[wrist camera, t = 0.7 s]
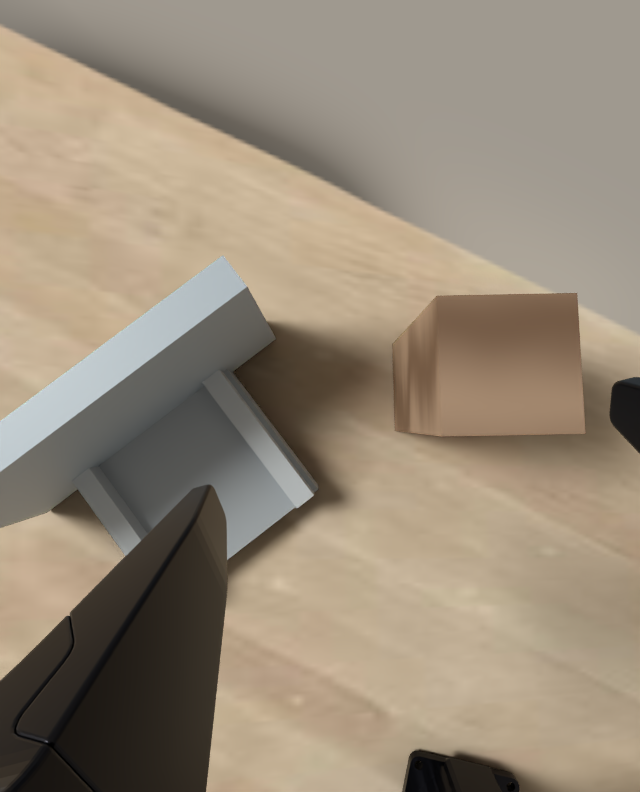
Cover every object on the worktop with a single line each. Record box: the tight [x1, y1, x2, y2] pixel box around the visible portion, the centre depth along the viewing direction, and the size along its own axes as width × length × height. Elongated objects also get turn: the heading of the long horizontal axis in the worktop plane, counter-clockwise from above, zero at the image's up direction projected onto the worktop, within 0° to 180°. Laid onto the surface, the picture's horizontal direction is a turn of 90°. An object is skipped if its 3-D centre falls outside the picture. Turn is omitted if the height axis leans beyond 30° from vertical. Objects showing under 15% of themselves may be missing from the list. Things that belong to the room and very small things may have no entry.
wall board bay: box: [0, 256, 318, 560], centre depth 20 cm, size 11×18×10 cm, turn 128°
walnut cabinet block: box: [392, 293, 586, 436], centre depth 21 cm, size 6×6×10 cm
